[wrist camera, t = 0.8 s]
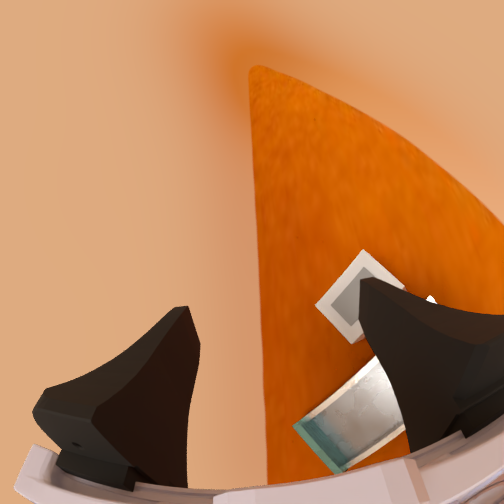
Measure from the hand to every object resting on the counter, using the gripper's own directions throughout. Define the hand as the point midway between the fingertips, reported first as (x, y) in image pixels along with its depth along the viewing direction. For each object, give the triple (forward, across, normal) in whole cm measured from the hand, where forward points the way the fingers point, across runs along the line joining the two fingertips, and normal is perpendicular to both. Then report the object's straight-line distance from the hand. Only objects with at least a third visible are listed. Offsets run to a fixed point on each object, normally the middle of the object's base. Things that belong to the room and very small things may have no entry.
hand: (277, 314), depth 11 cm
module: (+11, -9, +8) cm, 17 cm away
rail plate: (+5, -10, +15) cm, 18 cm away
